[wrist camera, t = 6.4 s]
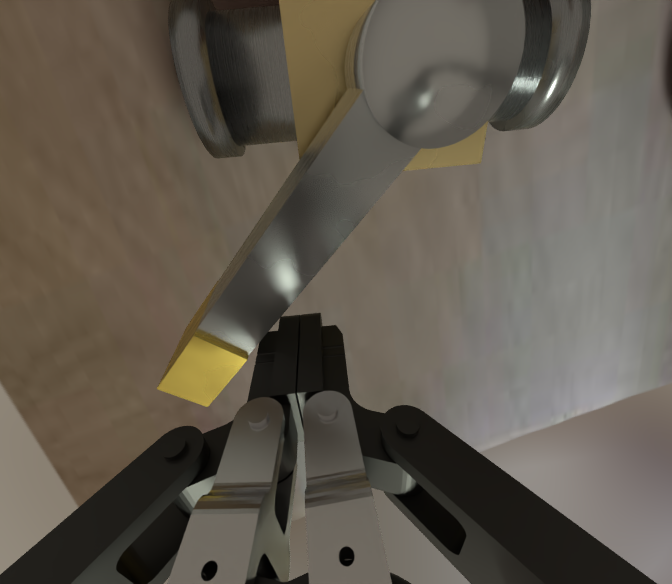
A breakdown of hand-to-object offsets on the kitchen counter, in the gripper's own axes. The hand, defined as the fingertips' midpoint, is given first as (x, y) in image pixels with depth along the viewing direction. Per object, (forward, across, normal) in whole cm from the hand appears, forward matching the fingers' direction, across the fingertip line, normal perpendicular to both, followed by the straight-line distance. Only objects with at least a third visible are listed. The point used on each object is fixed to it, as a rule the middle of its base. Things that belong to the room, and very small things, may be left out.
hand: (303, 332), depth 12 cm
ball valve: (+10, -4, -8) cm, 13 cm away
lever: (+2, 0, -4) cm, 4 cm away
